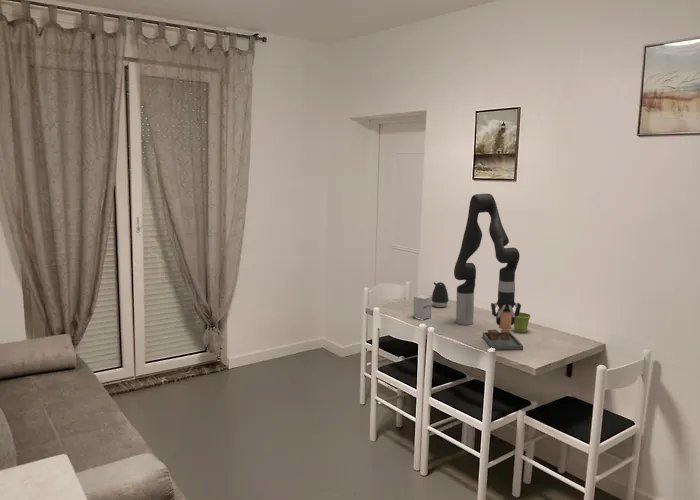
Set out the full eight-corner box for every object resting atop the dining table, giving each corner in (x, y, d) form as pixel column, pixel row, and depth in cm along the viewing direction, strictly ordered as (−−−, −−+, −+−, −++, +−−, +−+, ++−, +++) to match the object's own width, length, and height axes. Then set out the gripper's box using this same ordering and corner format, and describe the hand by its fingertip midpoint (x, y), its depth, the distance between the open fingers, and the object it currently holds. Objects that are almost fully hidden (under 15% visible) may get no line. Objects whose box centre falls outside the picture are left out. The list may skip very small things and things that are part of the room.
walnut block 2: (500, 337, 263) (501, 329, 262) (509, 337, 262) (509, 329, 261) (501, 339, 259) (501, 331, 258) (509, 340, 258) (509, 332, 257)
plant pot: (531, 329, 276) (532, 313, 274) (527, 334, 268) (528, 318, 266) (513, 327, 280) (514, 311, 279) (509, 332, 272) (509, 315, 271)
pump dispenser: (438, 303, 330) (439, 279, 328) (451, 306, 322) (452, 282, 320) (427, 306, 323) (428, 282, 321) (440, 309, 316) (441, 284, 313)
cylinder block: (497, 326, 253) (498, 309, 252) (509, 325, 253) (509, 309, 251) (500, 329, 247) (501, 313, 246) (512, 329, 247) (513, 312, 246)
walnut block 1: (487, 337, 262) (487, 329, 261) (495, 337, 263) (495, 329, 262) (490, 340, 258) (491, 332, 257) (498, 339, 259) (498, 331, 258)
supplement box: (422, 320, 293) (422, 298, 291) (412, 318, 299) (413, 296, 297) (431, 318, 298) (431, 296, 296) (421, 315, 303) (422, 294, 301)
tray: (482, 336, 265) (482, 332, 265) (510, 336, 265) (510, 332, 265) (492, 350, 246) (493, 345, 245) (522, 350, 246) (523, 345, 245)
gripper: (519, 288, 251) (517, 322, 253) (489, 288, 251) (487, 322, 254) (524, 291, 243) (522, 327, 246) (493, 291, 244) (491, 327, 246)
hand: (505, 324), depth 250 cm, fingers closed on cylinder block, 5 cm apart
